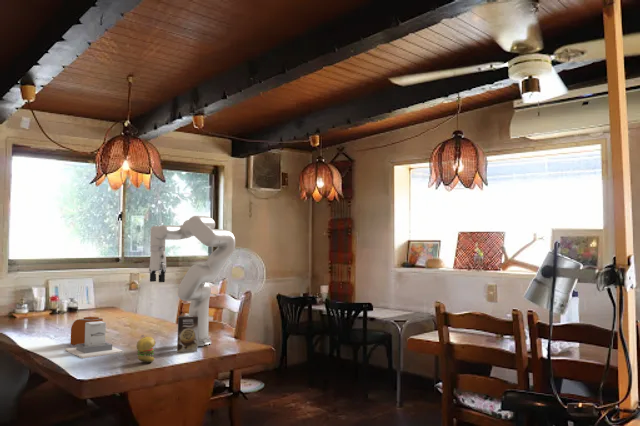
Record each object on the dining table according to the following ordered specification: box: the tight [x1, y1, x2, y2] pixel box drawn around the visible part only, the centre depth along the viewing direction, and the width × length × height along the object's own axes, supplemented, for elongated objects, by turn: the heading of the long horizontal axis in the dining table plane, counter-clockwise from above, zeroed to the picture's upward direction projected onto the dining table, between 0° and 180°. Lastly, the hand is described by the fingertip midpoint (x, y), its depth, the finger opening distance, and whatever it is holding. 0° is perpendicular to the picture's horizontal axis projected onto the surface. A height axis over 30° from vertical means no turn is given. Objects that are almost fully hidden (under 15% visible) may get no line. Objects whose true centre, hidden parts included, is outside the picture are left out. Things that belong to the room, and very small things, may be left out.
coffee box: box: [176, 315, 198, 353], centre depth 240 cm, size 9×6×16 cm
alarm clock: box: [70, 316, 104, 346], centre depth 257 cm, size 15×8×14 cm, turn 59°
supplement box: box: [85, 321, 107, 347], centre depth 239 cm, size 7×7×13 cm
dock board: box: [64, 341, 125, 359], centre depth 239 cm, size 24×18×3 cm
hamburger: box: [136, 334, 157, 363], centre depth 215 cm, size 8×7×12 cm
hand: (157, 281), depth 271 cm, fingers open, 9 cm apart
